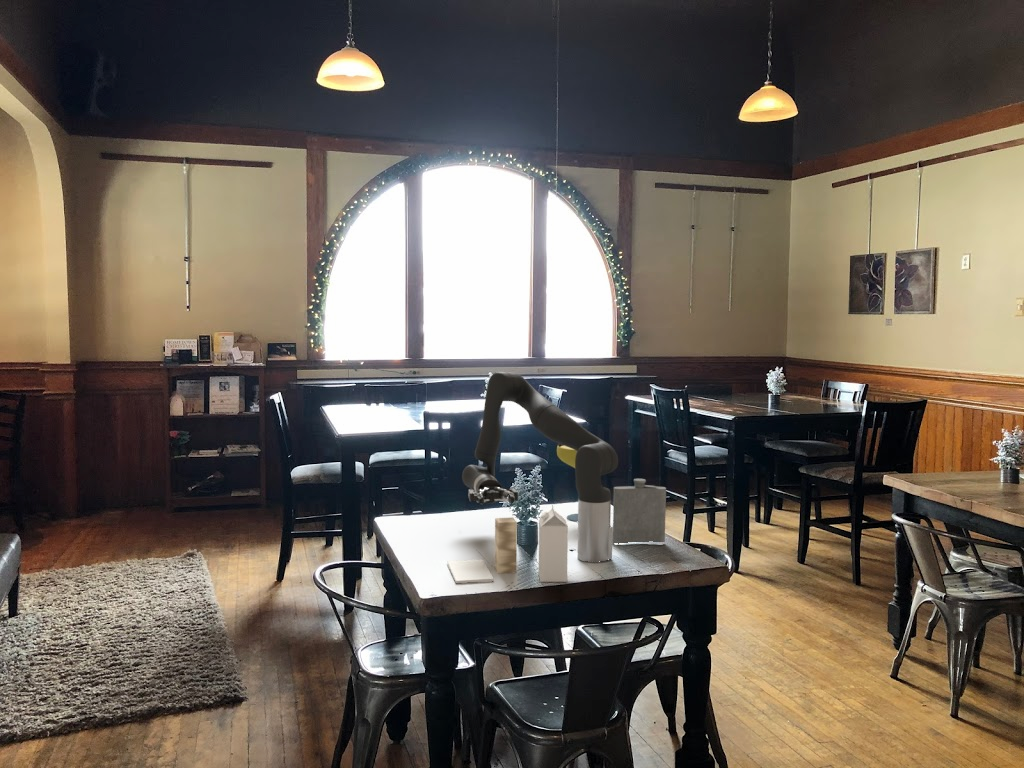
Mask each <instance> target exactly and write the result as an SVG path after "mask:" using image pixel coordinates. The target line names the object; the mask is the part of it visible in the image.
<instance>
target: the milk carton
mask: <svg viewBox="0 0 1024 768" xmlns="http://www.w3.org/2000/svg"><path fill="white" fill-rule="evenodd" d="M551 505H552V504H551ZM568 529H569V527H568V524H567V521H566V519H565V518H564V517H563V516H562V515H560V514H559V513H558V512H557V511H556V510H555V508H554V505H552V506H551V509H550V510H549V511H548V512H547V511H545V512H544V513H543V512H542V514H541V516H540V518H539V520H538V577H539V582H540V583H552V582H553V583H560V582H561V583H564V582H565V583H566V582H568V550H569V549H568V548H569V547H568V545H569V544H568V541H569V540H568V539H569V538H568V537H569V533H568V532H569V530H568Z"/></svg>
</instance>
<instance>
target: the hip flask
mask: <svg viewBox="0 0 1024 768" xmlns="http://www.w3.org/2000/svg"><path fill="white" fill-rule="evenodd" d="M646 482H647V480H646V479H644V478H634V479H633V483H634V485H632V486H631V485H629V486H614V487H613V509H612V510H613V512H612V513H613V515H612V516H613V517H612V528H613V532H612V544H613V543H618V544H619V543H628V542H649V541H653V542H666V507H667V504H666V502H667V487H665V486H656V485H647V484H645V483H646Z"/></svg>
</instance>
